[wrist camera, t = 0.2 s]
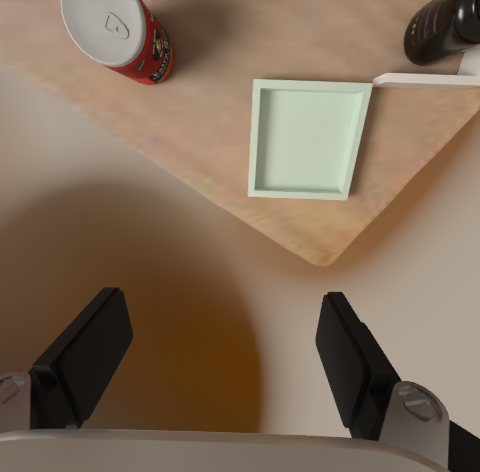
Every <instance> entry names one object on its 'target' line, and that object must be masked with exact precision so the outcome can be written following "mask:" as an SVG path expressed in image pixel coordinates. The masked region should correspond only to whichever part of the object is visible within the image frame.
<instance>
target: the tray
mask: <svg viewBox="0 0 480 472" xmlns="http://www.w3.org/2000/svg"><path fill="white" fill-rule="evenodd" d="M372 86H373V83H350V82H322V81H294V80H266V79H254V80H253V94H252V115H251V136H250V157H249V178H248V196H250V197H276V198H303V199H329V200H347V198H348V193H349V189H350V184H351V180H352V175H353V171H354V166H355V162H356V157H357V153H358V148H359V144H360V140H361V135H362V131H363V126H364V122H365V117H366V113H367V108H368V104H369V99H370V95H371V90H372Z"/></svg>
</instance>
